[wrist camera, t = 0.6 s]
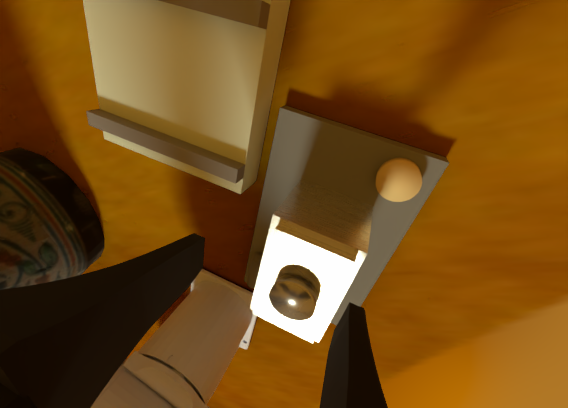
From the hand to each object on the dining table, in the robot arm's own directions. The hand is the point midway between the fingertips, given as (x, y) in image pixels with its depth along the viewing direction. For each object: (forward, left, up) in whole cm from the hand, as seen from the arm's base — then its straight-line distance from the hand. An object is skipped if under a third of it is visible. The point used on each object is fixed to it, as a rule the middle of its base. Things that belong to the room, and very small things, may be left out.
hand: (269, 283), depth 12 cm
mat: (-2, -1, -9) cm, 9 cm away
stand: (+6, +11, -9) cm, 15 cm away
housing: (-2, -1, -8) cm, 8 cm away
